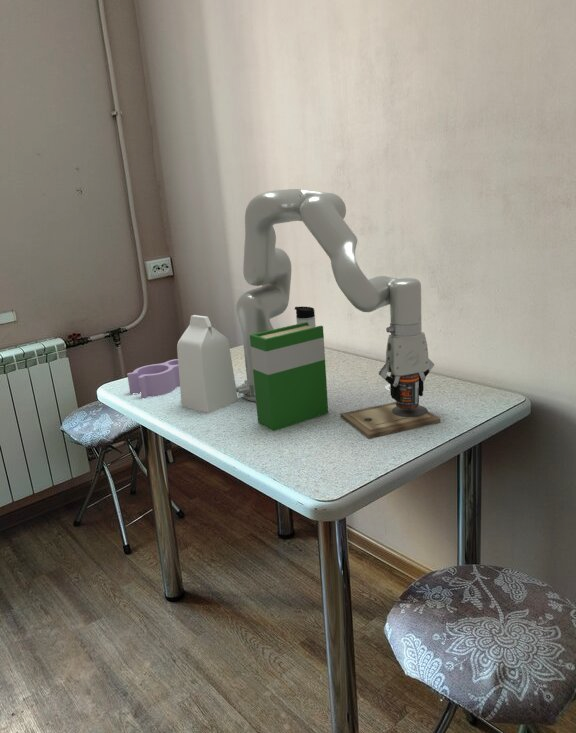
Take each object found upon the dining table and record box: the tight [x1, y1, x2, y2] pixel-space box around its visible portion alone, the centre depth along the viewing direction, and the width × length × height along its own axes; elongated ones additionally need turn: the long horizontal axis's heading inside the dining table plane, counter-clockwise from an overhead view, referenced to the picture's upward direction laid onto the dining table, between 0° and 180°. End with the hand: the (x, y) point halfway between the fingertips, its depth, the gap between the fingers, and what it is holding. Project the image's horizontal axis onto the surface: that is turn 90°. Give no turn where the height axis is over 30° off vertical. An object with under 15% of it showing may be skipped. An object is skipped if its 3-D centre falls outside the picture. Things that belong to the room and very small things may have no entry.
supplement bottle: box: [395, 373, 420, 409], centre depth 157 cm, size 6×6×11 cm
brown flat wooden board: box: [340, 401, 442, 439], centre depth 157 cm, size 20×16×1 cm
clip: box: [126, 358, 180, 399], centre depth 197 cm, size 20×12×7 cm, turn 136°
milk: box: [176, 314, 239, 414], centre depth 176 cm, size 12×12×26 cm
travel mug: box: [294, 306, 317, 327], centre depth 207 cm, size 6×7×20 cm
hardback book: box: [250, 322, 329, 432], centre depth 160 cm, size 18×7×24 cm, turn 124°
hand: (407, 396), depth 158 cm, fingers closed on supplement bottle, 6 cm apart
